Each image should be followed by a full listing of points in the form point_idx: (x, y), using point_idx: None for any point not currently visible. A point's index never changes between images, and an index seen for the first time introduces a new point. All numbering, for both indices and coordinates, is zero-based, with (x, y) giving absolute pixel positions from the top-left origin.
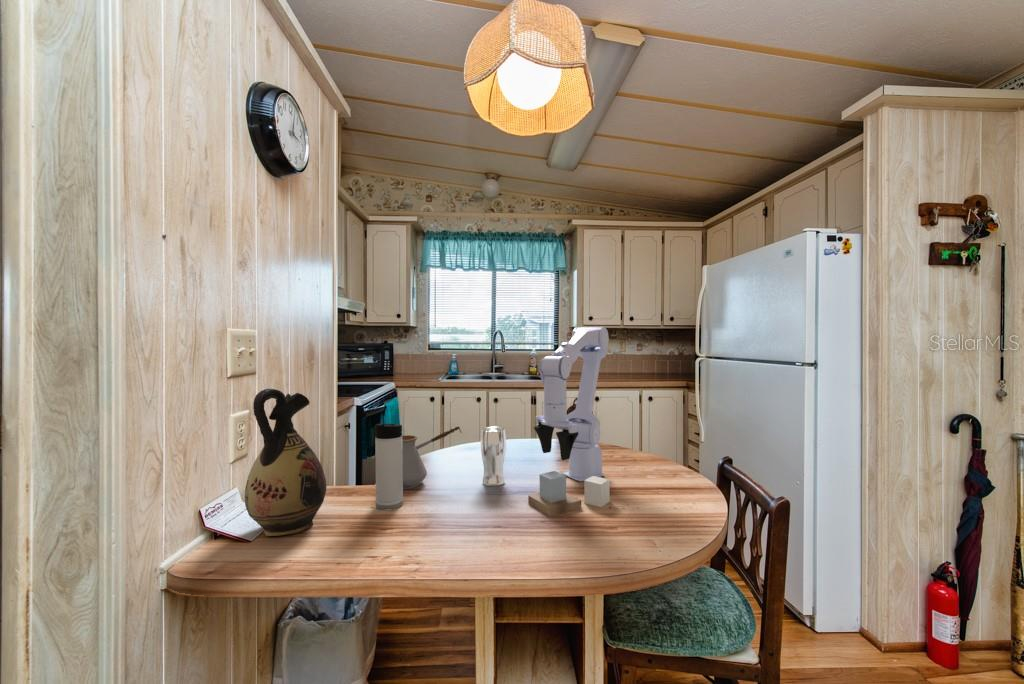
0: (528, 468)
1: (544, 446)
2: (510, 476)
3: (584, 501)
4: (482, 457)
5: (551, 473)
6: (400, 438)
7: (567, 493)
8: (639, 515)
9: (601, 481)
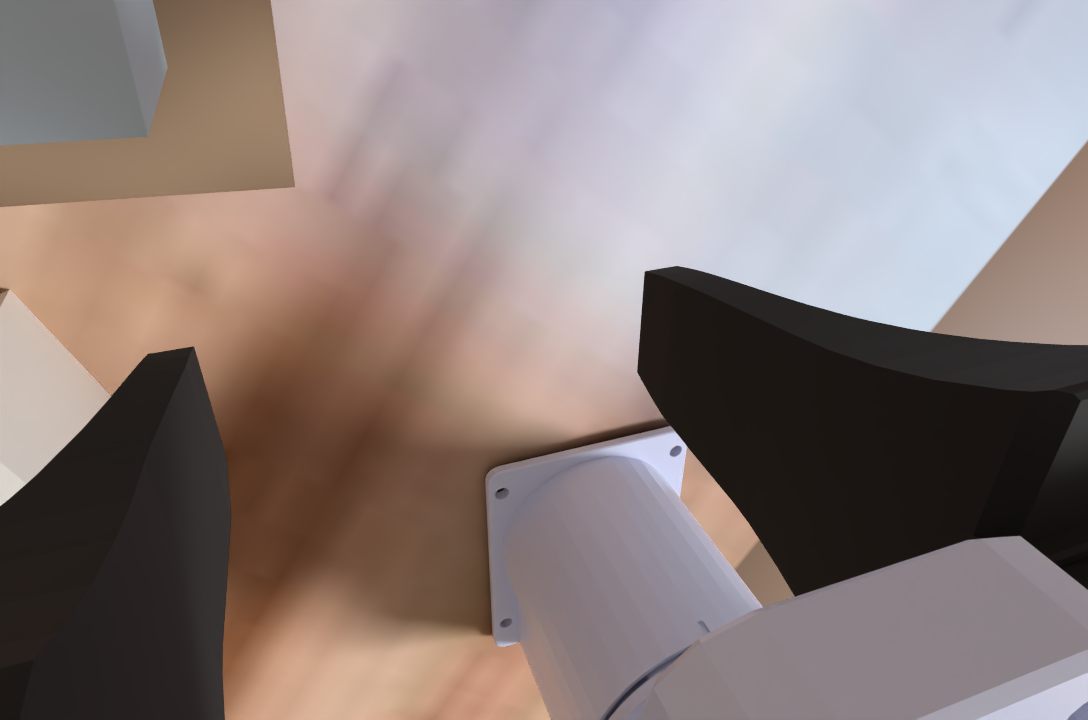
0: (925, 271)
1: (701, 323)
2: (918, 42)
3: (2, 295)
4: None
5: (17, 3)
6: None
7: (107, 193)
8: None
9: None
